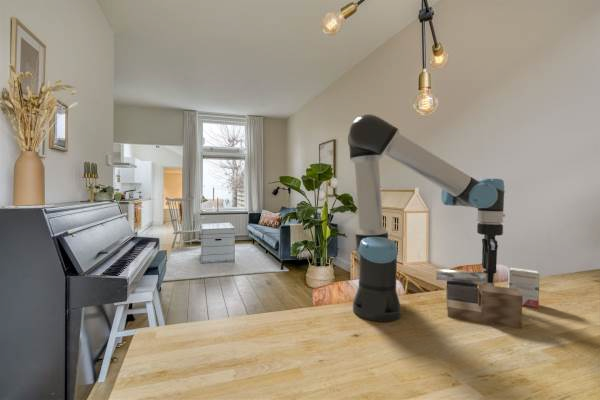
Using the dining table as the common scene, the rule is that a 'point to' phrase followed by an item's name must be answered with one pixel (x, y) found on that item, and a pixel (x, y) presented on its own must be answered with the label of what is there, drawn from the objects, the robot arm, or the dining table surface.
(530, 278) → the ink box
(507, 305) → the wooden shaft support
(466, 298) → the v block
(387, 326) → the dining table surface
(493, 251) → the robot arm
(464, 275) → the axle
